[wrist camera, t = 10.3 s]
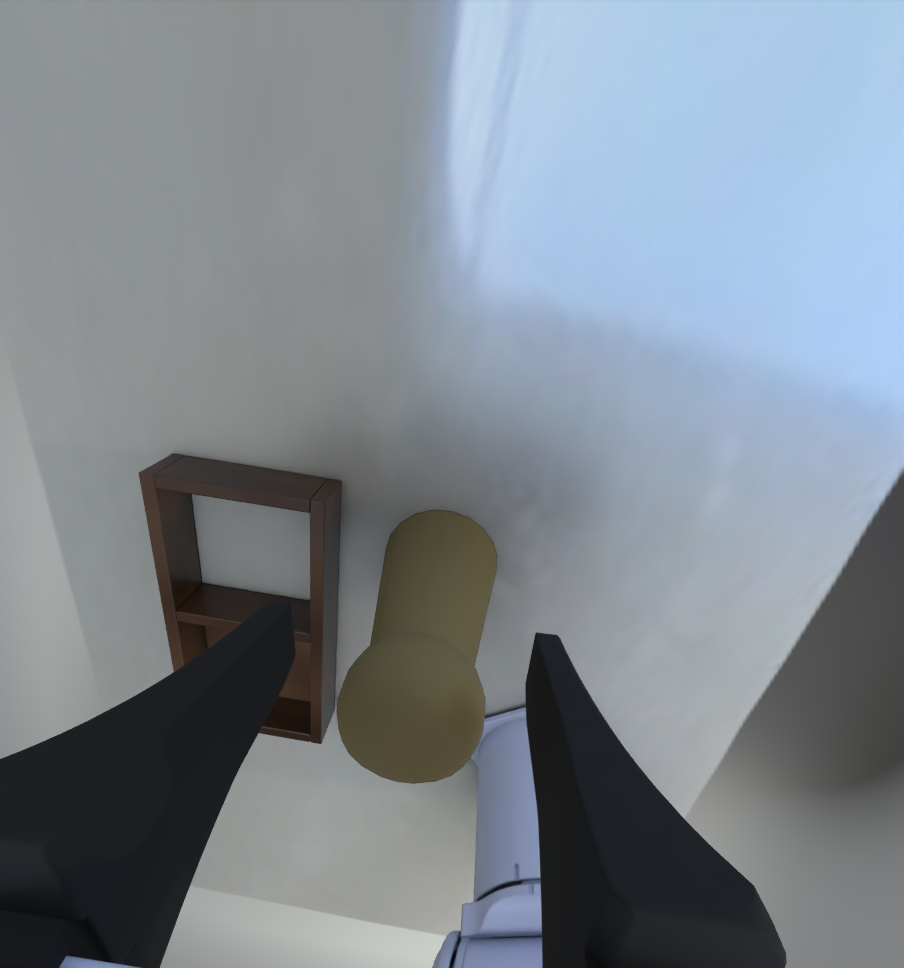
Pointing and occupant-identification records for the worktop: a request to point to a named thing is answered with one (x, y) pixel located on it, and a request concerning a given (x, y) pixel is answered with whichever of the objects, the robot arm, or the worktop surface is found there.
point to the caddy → (218, 610)
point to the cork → (422, 653)
